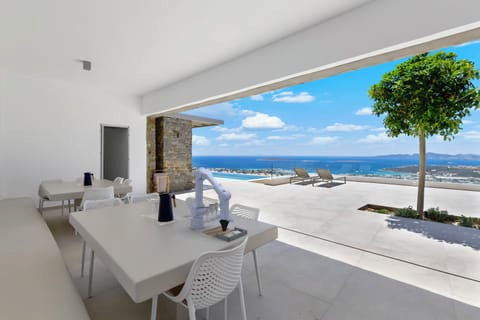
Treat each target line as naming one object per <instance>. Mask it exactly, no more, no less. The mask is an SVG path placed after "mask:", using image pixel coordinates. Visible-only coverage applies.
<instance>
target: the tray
mask: <svg viewBox="0 0 480 320" xmlns="http://www.w3.org/2000/svg"><path fill="white" fill-rule="evenodd" d="M233 230H234V231H240V233H238V234H235V235H233V234H232V235H233V236H230V237H227V236H224V235H225V234H224V235H221V234H218V233H217V234H216V237H215V238H217V239H219V240H222V241H225V242H228V243H229V242H232V241H235V240H237V239H239V238H242V237H245V236H247V235H248V230H247V229H245V228H240V227H236V226H234V227H233ZM234 231H233V232H234Z"/></svg>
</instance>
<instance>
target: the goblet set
mask: <svg viewBox="0 0 480 320" xmlns="http://www.w3.org/2000/svg"><path fill="white" fill-rule="evenodd" d="M205 208H206V213H205V214H204V215H205V216H206V218H208V215H209V214H211V216H213V213H214V211H215V214H216V215H218V210H219V209H220V203H219V202H214V203H209V204H208V206H205ZM216 215H215V216H216ZM215 219H216V221H217V220H220V219H219V218H216V217H215V218H214V219H209V221H208V220H206V221H203V224H208V223H210V222H215Z"/></svg>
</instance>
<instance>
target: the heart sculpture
mask: <svg viewBox="0 0 480 320" xmlns="http://www.w3.org/2000/svg"><path fill="white" fill-rule="evenodd" d="M194 204H195V196H189V197H188V196H187V197H186V198H185V205H186V208H187V209H188V210H189V211H190V212H191V209H192V205H194ZM191 217H192V216H188V217H187V219H190V220H191Z"/></svg>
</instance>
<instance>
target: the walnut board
mask: <svg viewBox="0 0 480 320" xmlns="http://www.w3.org/2000/svg"><path fill="white" fill-rule="evenodd" d="M232 232H234V229H232V228H228V227H227V230H226V231H225V232H223V230H222V227H221V225H218V226H216V227H213V228H209V229H207V230H203V231H201V233H202V234H205V235H208V236H210V237H212V238H213V237H214V238H216V234H217V233H218V234H221V235H226V234H230V233H232Z"/></svg>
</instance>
